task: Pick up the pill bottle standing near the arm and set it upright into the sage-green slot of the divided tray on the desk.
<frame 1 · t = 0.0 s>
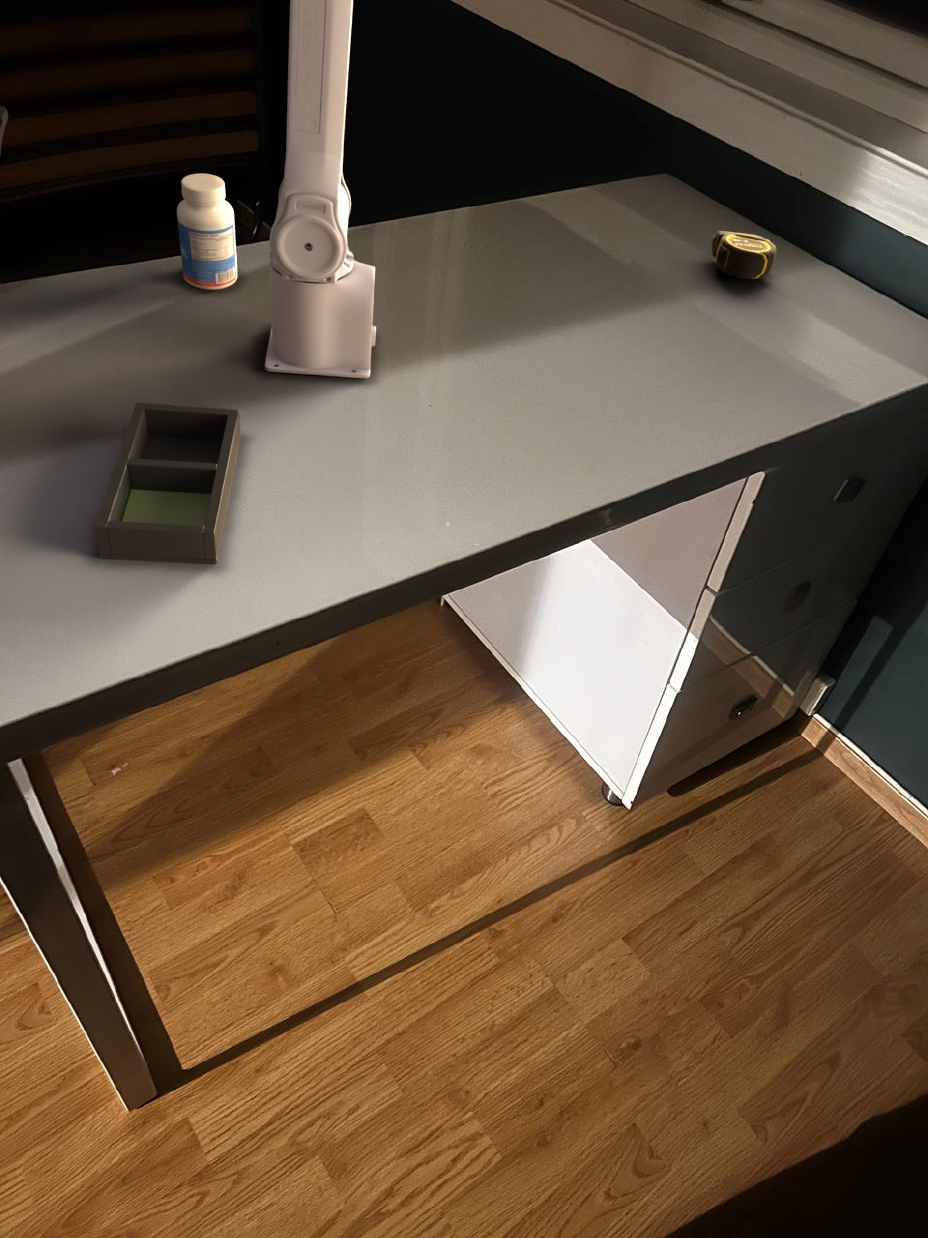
pill bottle: (210, 280, 100), on the table
tape measure: (735, 270, 115), on the table
divided tray: (176, 494, 75), on the table
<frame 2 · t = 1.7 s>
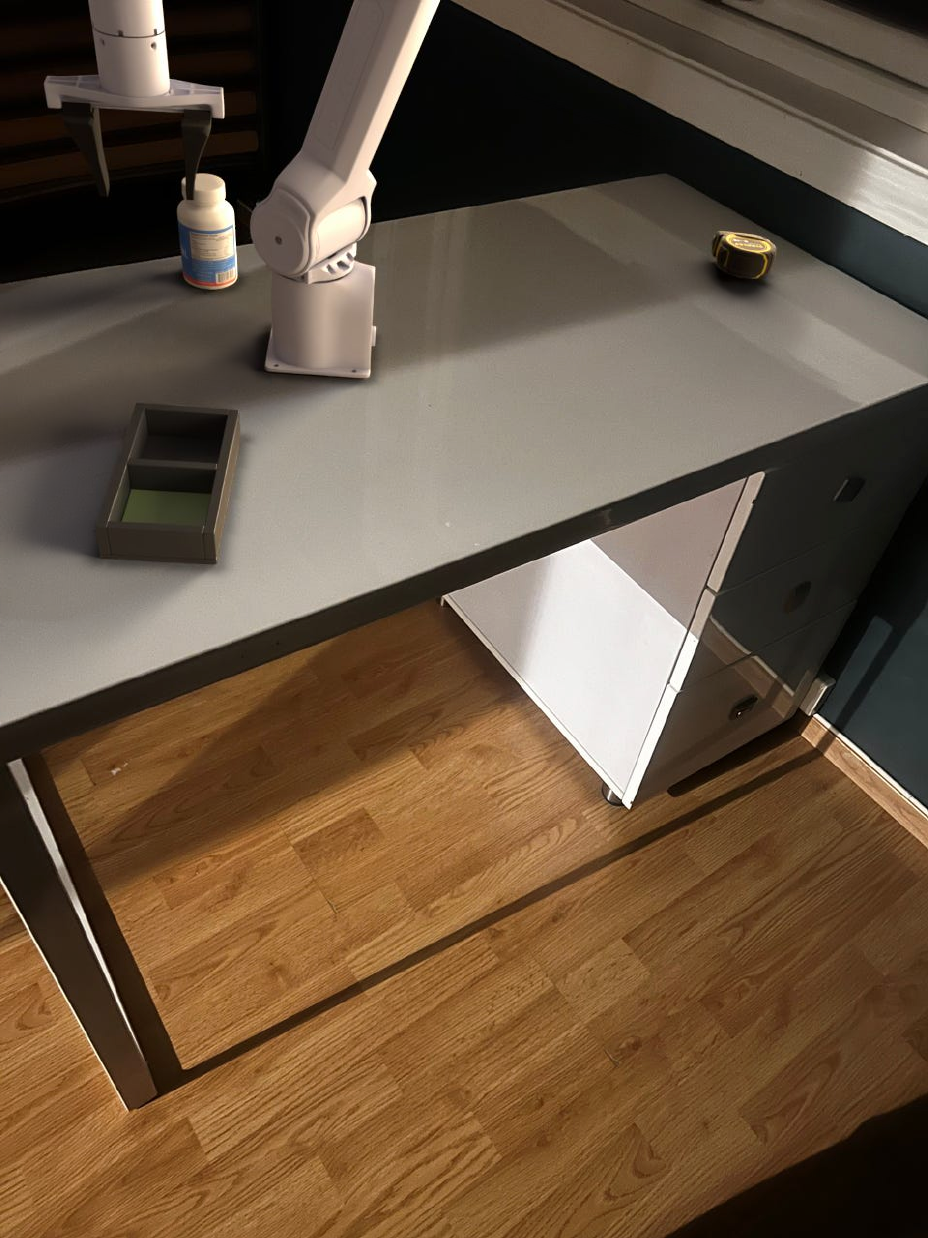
hand: (148, 193, 90), 10 cm above the table, tool pointing down, fingers open, 7 cm apart
pill bottle: (210, 280, 100), on the table, touching gripper
everything else where it was.
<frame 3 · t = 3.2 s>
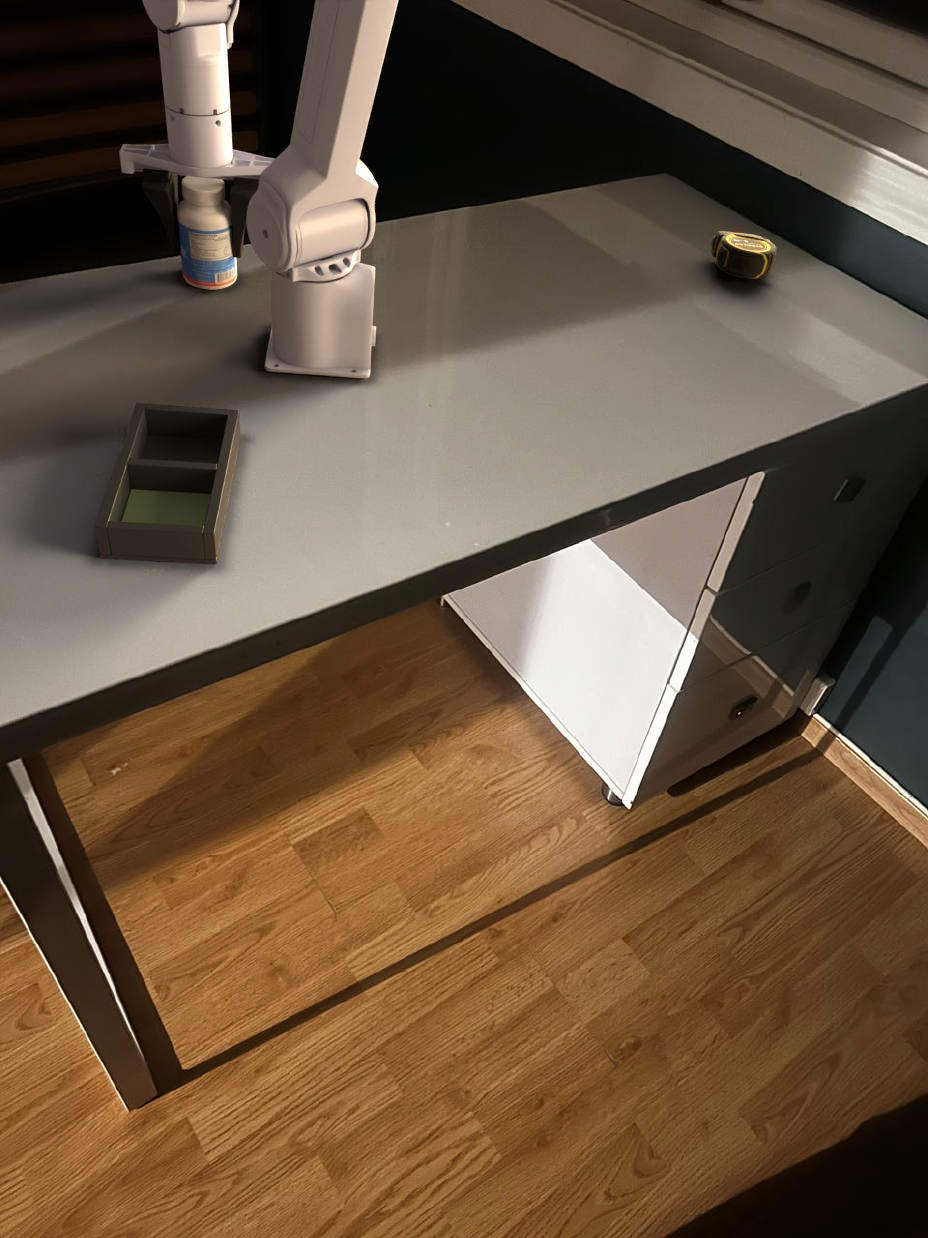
hand: (208, 250, 97), 3 cm above the table, tool pointing down, fingers closed on pill bottle, 5 cm apart
pill bottle: (210, 280, 100), on the table, touching gripper
everything else where it was.
when the fingers open (4 cm above the table, at t = 10.1 s): pill bottle stays where it is, resting on divided tray.
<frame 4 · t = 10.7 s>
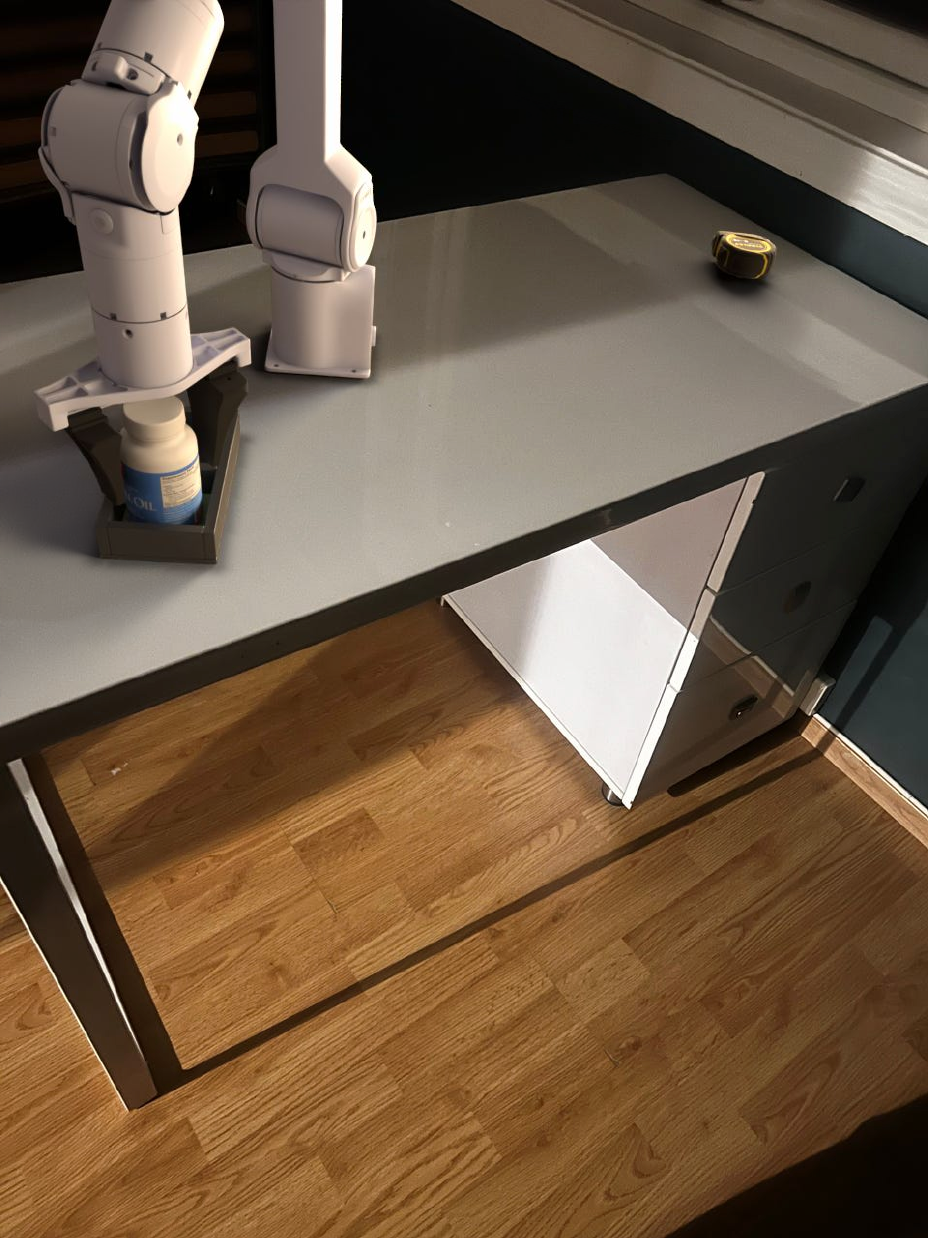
hand: (162, 477, 70), 4 cm above the table, tool pointing down, fingers open, 7 cm apart
pill bottle: (166, 520, 72), resting on divided tray
everything else where it was.
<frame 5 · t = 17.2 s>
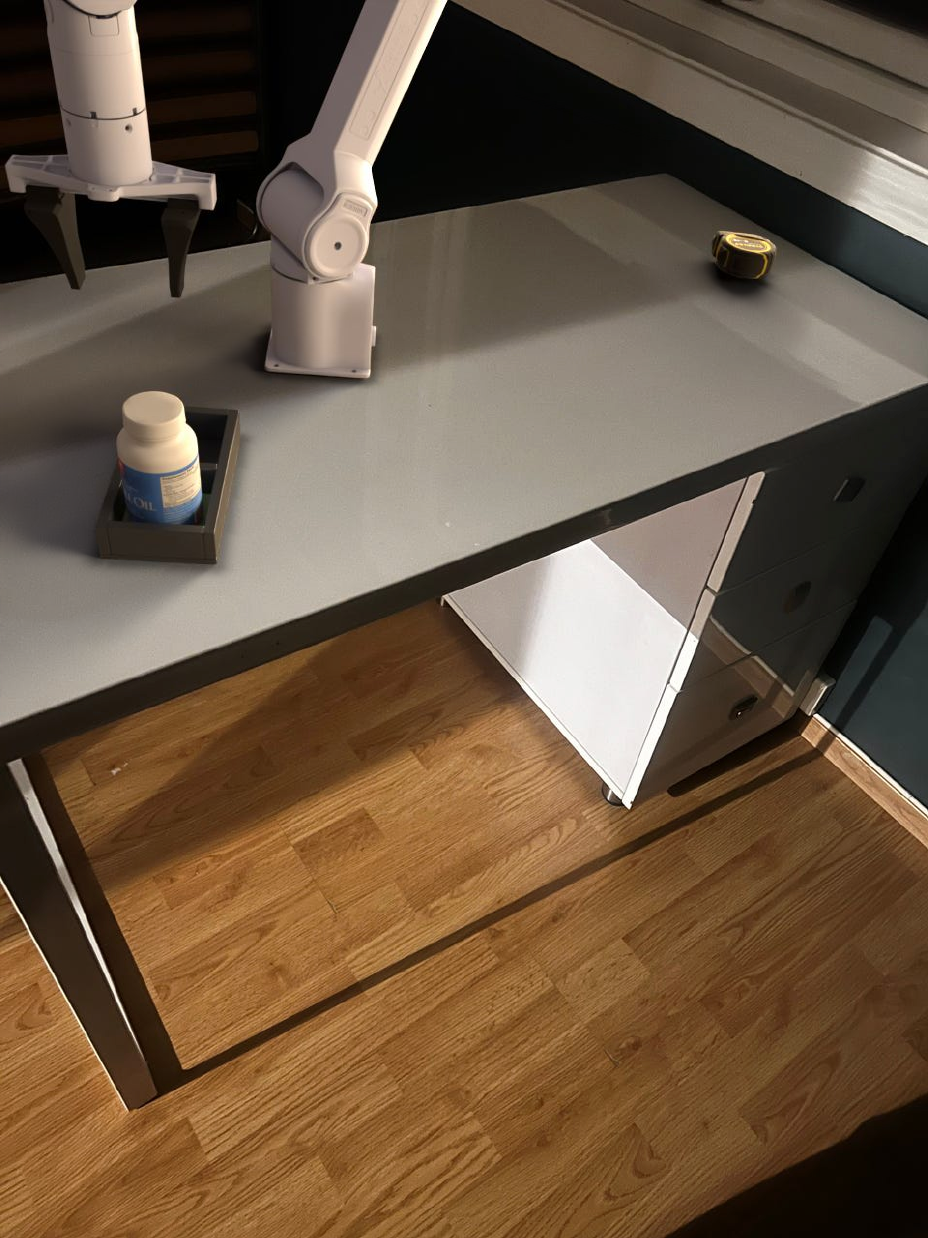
hand: (128, 287, 78), 9 cm above the table, tool pointing down, fingers open, 7 cm apart
nothing on the table moved.
at the end: pill bottle 0.1 cm from the target spot in the divided tray, point 0.4 cm above the divided tray's base; pill bottle tilted 0°; the gripper is holding nothing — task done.
